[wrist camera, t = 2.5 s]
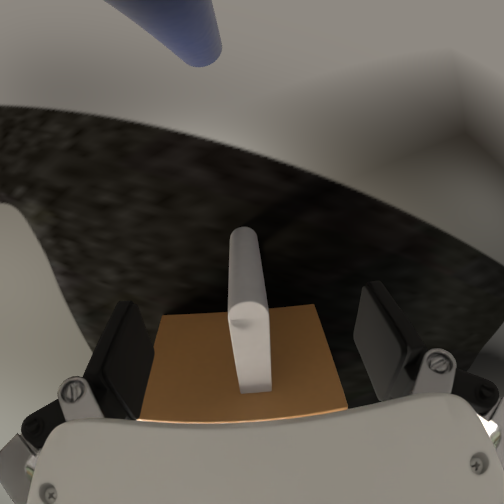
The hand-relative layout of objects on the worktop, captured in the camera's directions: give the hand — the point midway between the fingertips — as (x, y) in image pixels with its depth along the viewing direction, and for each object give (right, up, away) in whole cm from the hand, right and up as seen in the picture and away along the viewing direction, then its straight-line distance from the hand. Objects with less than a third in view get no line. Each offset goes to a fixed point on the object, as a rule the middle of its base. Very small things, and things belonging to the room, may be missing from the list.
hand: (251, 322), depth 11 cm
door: (-1, +3, +12) cm, 12 cm away
